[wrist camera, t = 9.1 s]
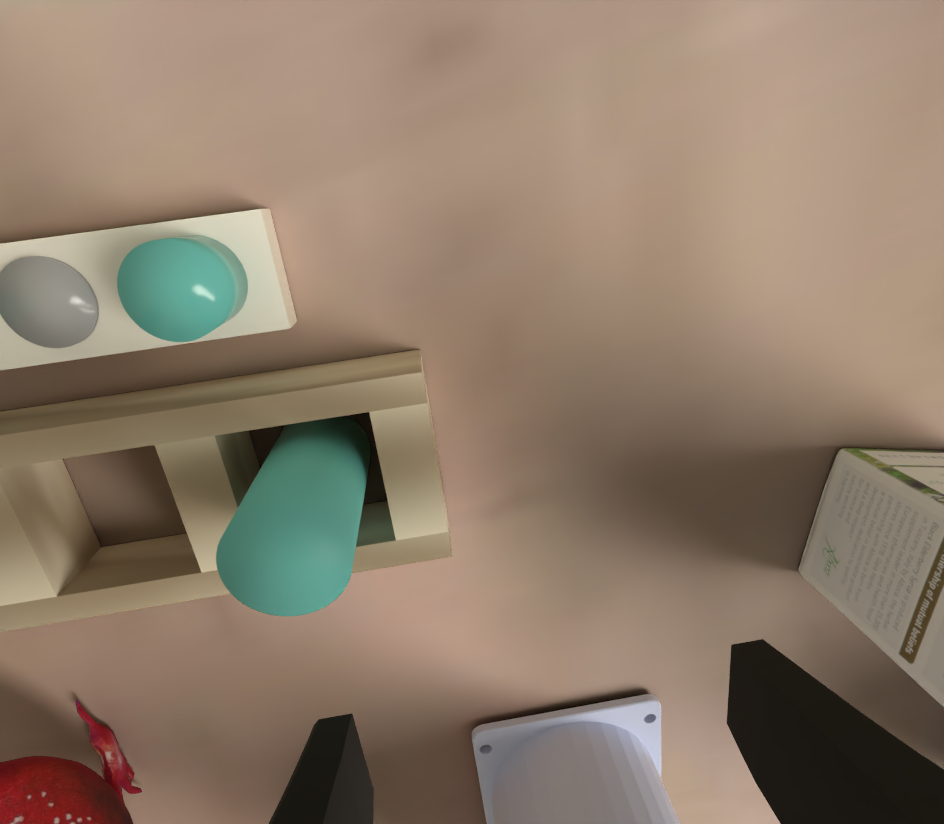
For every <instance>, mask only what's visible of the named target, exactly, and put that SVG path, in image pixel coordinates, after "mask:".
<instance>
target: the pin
mask: <svg viewBox="0 0 944 824" xmlns="http://www.w3.org/2000/svg"><path fill="white" fill-rule="evenodd" d="M370 459H371V446H370V442H369V439H368V437H367V434H366V433H365V431H364V430H363V428H362V427H361V426H360V425H359V424H358V423H357V422H356V421H355V420H354V419H352V418H351V417H349V416H347V415H346V416H340V417H333V418H327V419H320V420H314V421H307V422H301V423H294V424H288V425H286V426H285V427H284V429H283V430H282V432H281V434H280V435H279V437H278V439H277V441H276V442H275V444H274V446H273V448H272V449H271V451H270V453H269V455H268V456H267V458H266V460H265V462H264V463H263V465H262V467H261V469H260V470H259V472H258V474H257V476H256V477H255V479H254V481H253V483H252V484H251V486H250V488H249V490H248V491H247V493H246V495H245V497H244V498H243V500H242V502H241V504H240V505H239V507H238V509H237V511H236V512H235V514H234V516H233V518H232V519H231V521H230V523H229V525H228V526H227V528H226V530H225V532H224V533H223V535H222V537H221V539H220V541H219V544H218V547H217V552H216V564H217V570H218V573H219V576H220V578H221V580H222V582H223V584H224V585H225V587H226V588H227V589H228V591H229V592H230V593H231V594H232V595H233V596H234V597H235V598H236V599H238V600H239V601H240V602H242V603H243V604H245V605H246V606H248V607H250V608H252V609H254V610H257V611H259V612H263V613H266V614H270V615H276V616H298V615H304V614H308V613H312V612H315V611H317V610H319V609H322V608H324V607H325V606H327V605H329V604H330V603H332V602H333V601H334V600H335V599H336V598H337V597H338V596H339V595H340V594H341V593H342V592H343V590H344V589H345V587H346V586H347V584H348V582H349V579H350V576H351V573H352V567H353V561H354V555H355V549H356V543H357V537H358V531H359V525H360V519H361V513H362V507H363V501H364V495H365V489H366V483H367V477H368V471H369V465H370Z"/></svg>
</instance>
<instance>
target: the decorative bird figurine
mask: <svg viewBox="0 0 944 824" xmlns="http://www.w3.org/2000/svg"><path fill="white" fill-rule="evenodd" d="M76 706H77V712H78V714H79V715H80V716H81V718H82V719H83V720H84V721H85V722H87V723H88V725H89V730H90V743H91V745H92V747H93V748H94V749H95V750H96V752H97V753H98V754H99V756H100V757H101V761H102V766H103V769H102V771H103V777H104V779H105V780H104V779H103V778H102V777H101V776H100V775H98V774H97V773H96V772H94V771H93V770H91V769H90V768H88V767H87V766H85V765H83V764H81V763H78V762H75V761H71V760H66V759H61V758H55V757H46V756H31V757H23V758H19V759H15V760H10V761H6V762H1V763H0V824H133V821H132V819H131V816H130V814H129V812H128V810H127V808H126V806H125V804H124V801H123V795H122V788H124V789H125V790H126V791H127V792H128V793H130V794H136V793H141V792H142V790H141V789H140V788H138V787H134V786H131V780H132V779H133V778H134V772H133V771H132V769H131V768H130V767H129V765H128V764H127V760H126V758H125V756H124V755H123V754H122V752H121V751H120V748H119V744H118V742H117V740H116V738H115V735H114V733H113V732H112V731H111V730H110V729H109V728H108V727H106V726H104V725H102V724H99V723H97V722H96V721H95V720H94V719H93V718H91V717H90V716H89V715H88V713H87V712H86V711H85V710H84V709H83V708H82V706H81V705H80V703H79V702H78V701H77V700H76ZM126 774H127V775H126ZM127 776H128V777H129V778H130V780H129V779H128V778H127ZM121 786H122V788H121Z"/></svg>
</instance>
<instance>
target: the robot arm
mask: <svg viewBox="0 0 944 824" xmlns="http://www.w3.org/2000/svg"><path fill="white" fill-rule="evenodd" d="M727 724H728V726H729V729H730V731H731V733H732V735H733V737H734V739H735V741H736V743H737V745H738V748H739V750H740V752H741V754H742V756H743V758H744V760H745V762H746V764H747V766H748V768H749V770H750V772H751V774H752V776H753V778H754V780H755V782H756V784H757V785H758V787H759V789H760V790H761V792H762V794H763V795H764V797H765V799H766V800H767V802H768V803H769V805H770V807H771V808H772V810H773V812H774V813H775V815H776V817H777V818H778V820H779V821H780V823H781V824H944V770H943V769H942V768H940V767H939V766H937V765H936V764H934V763H933V762H931V761H930V760H928V759H927V758H925V757H924V756H922V755H921V754H919V753H918V752H916V751H915V750H913V749H912V748H911V747H909V746H908V745H906V744H905V743H903V742H902V741H900V740H899V739H897V738H896V737H895V736H893V735H892V734H890V733H889V732H888V731H886V730H885V729H883V728H882V727H881V726H879V725H878V724H876V723H875V722H874V721H872V720H871V719H869V718H868V717H867V716H865V715H864V714H862V713H861V712H860V711H858V710H857V709H855V708H854V707H853V706H851V705H850V704H849V703H847V702H846V701H844V700H843V699H842V698H840V697H839V696H838V695H836V694H835V693H834V692H832V691H831V690H830V689H828V688H827V687H826V686H824V685H823V684H822V683H820V682H819V681H818V680H816V679H815V678H814V677H812V676H811V675H810V674H808V673H807V672H806V671H804V670H803V669H802V668H800V667H799V666H798V665H796V664H795V663H794V662H792V661H791V660H790V659H788V658H787V657H786V656H784V655H783V654H782V653H780V652H779V651H778V650H776V649H775V648H774V647H772V646H771V645H770V644H768V643H767V642H766V641H764V640H763V639H762V640H756V641H751V642H745V643H739V644H734V645H732V646H731V663H730V680H729V697H728V713H727ZM472 743H473V749H474V755H475V760H476V766H477V772H478V777H479V783H480V789H481V794H482V800H483V806H484V811H485V817H486V823H487V824H680V822H679V819H678V817H677V815H676V813H675V810H674V808H673V806H672V803H671V801H670V799H669V796H668V794H667V792H666V789H665V787H664V785H663V783H662V780H661V705H660V702H659V700H658V698H657V697H656V696H655V695H652V694H644V695H639V696H634V697H628V698H623V699H617V700H612V701H606V702H601V703H596V704H590V705H585V706H579V707H574V708H568V709H563V710H558V711H552V712H547V713H541V714H536V715H530V716H525V717H520V718H514V719H509V720H503V721H498V722H492V723H487V724H482V725H479V726H477V727H476V728H474V729H473V731H472ZM269 824H373V786H372V783H371V779H370V776H369V772H368V768H367V765H366V761H365V758H364V754H363V751H362V747H361V744H360V740H359V736H358V733H357V729H356V726H355V722H354V719H353V715H352V714H347V715H341V716H336V717H330V718H325V719H319V720H318V721H317V722H316V724H315V725H314V727H313V729H312V731H311V734H310V736H309V739H308V741H307V743H306V746H305V748H304V750H303V752H302V755H301V757H300V759H299V761H298V764H297V766H296V768H295V770H294V772H293V775H292V777H291V779H290V781H289V783H288V785H287V787H286V789H285V792H284V794H283V796H282V798H281V800H280V802H279V804H278V806H277V808H276V810H275V812H274V814H273V816H272V818H271V820H270V822H269Z"/></svg>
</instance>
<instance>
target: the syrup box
mask: <svg viewBox="0 0 944 824" xmlns="http://www.w3.org/2000/svg"><path fill="white" fill-rule="evenodd" d="M798 571H799V572H800V574H801V576H802V577H803V578H804V579H805V580H806V581H807V582H809V583H810V584H811V585H812V586H813V587H814V588H815V589H816V590H817V591H818V592H819V593H820V594H822V595H823V596H824V597H825V598H826V599H827V600H828V601H830V602H831V603H832V604H833V605H834V606H835V607H836V608H837V609H838V610H839V611H840V612H841V613H842V614H843V615H845V616H846V617H847V618H848V619H849V620H850V621H851V622H852V623H853V624H854V625H855V626H857V627H858V628H859V629H860V630H861V631H862V632H863V633H864V634H865V635H866V636H867V637H868V638H869V639H871V640H872V641H873V642H874V643H875V644H876V645H877V646H878V647H879V648H880V649H881V650H882V651H883V652H885V653H886V654H887V655H888V656H889V657H890V658H891V659H892V660H893V661H894V662H895V663H896V664H898V665H899V666H900V667H901V668H902V669H903V670H904V671H905V672H906V673H907V674H908V675H909V676H910V677H911V678H913V679H914V680H915V681H916V682H917V683H918V684H919V685H920V686H921V687H922V688H923V689H924V690H925V691H926V692H928V693H929V694H930V695H931V696H932V697H933V698H934V699H935V700H936V701H937V702H938V703H940V704H941V705H942V706H943V707H944V451H936V450H934V451H932V450H927V451H925V450H893V449H862V448H843V449H841V450H840V451H839V452H838V454H837V456H836V458H835V461H834V464H833V466H832V469H831V471H830V474H829V476H828V479H827V481H826V484H825V487H824V490H823V493H822V496H821V499H820V502H819V505H818V508H817V511H816V515H815V518H814V521H813V524H812V527H811V530H810V533H809V537H808V540H807V543H806V547H805V549H804V552H803V556H802V559H801V563H800V566H799V569H798Z"/></svg>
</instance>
